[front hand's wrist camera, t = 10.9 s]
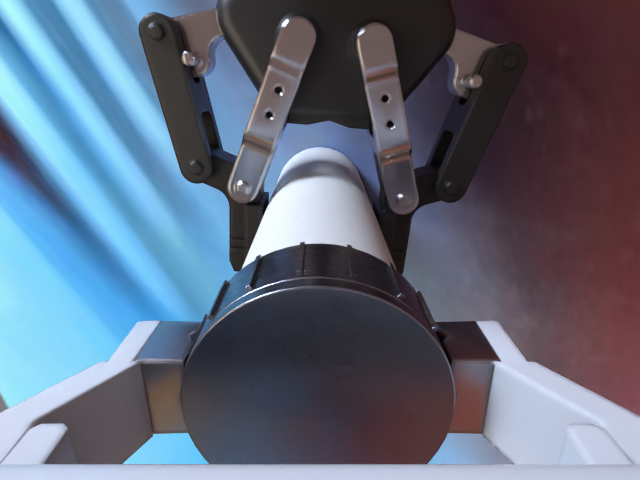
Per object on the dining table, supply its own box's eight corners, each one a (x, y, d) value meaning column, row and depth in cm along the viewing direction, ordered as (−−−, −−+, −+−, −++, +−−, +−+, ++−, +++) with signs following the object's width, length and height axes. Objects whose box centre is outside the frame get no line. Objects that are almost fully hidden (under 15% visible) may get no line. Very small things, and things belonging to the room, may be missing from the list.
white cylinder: (368, 154, 24) (463, 307, 8) (353, 233, 25) (406, 490, 10) (283, 140, 23) (208, 271, 8) (273, 221, 25) (194, 466, 9)
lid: (460, 258, 9) (496, 305, 7) (405, 446, 11) (422, 522, 9) (212, 222, 9) (183, 261, 7) (198, 421, 11) (172, 494, 9)
